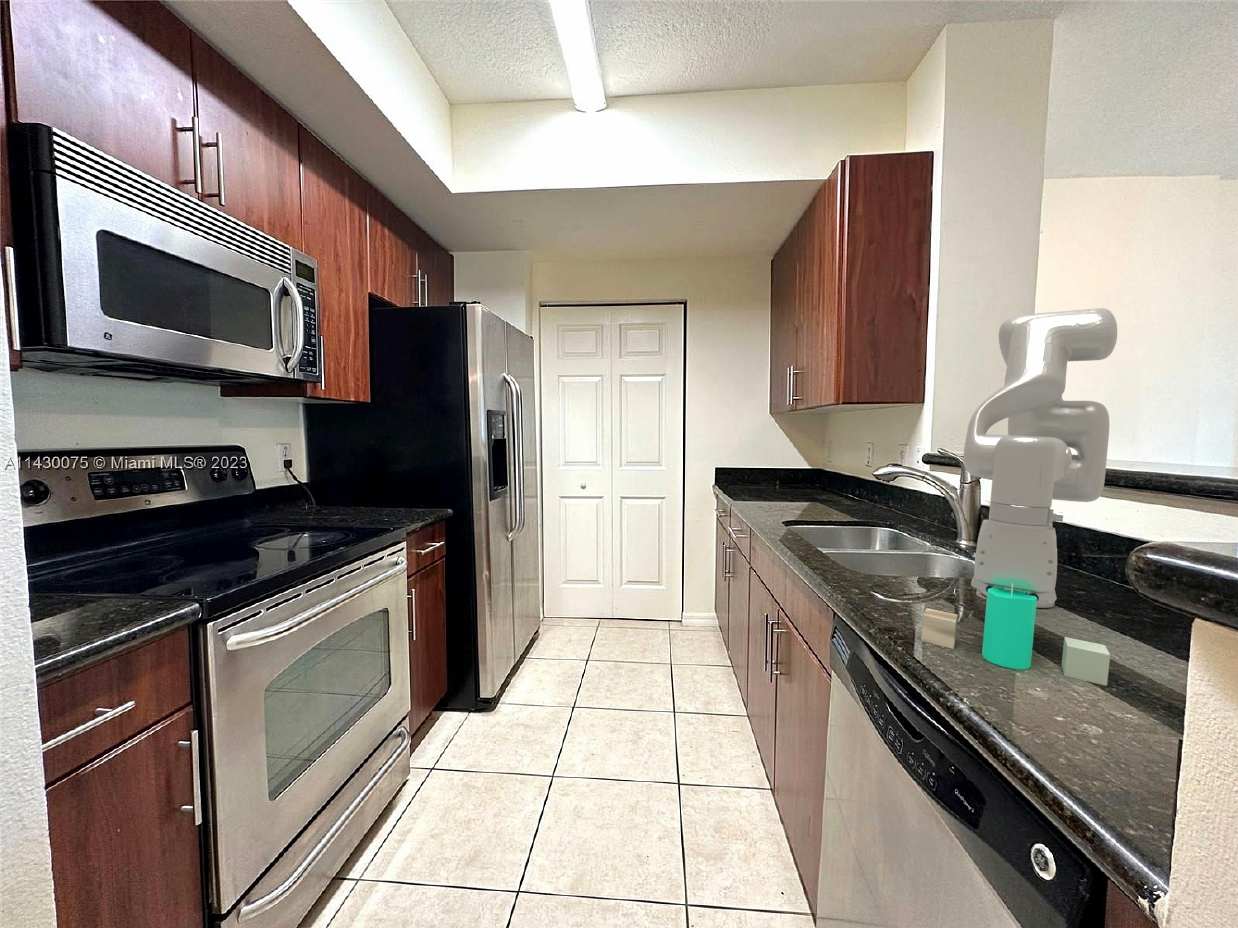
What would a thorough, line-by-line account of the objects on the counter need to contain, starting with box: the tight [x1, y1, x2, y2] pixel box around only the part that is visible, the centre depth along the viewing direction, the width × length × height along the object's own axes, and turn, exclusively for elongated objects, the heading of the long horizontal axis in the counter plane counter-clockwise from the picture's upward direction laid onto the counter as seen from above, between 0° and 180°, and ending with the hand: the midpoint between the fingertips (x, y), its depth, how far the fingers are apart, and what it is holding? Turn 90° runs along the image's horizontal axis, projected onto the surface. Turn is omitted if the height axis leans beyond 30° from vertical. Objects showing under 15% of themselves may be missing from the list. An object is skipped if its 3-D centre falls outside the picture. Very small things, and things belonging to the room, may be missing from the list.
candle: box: [981, 583, 1037, 671], centre depth 78 cm, size 6×6×12 cm
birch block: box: [920, 607, 959, 650], centre depth 85 cm, size 4×4×4 cm
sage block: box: [1061, 636, 1111, 687], centre depth 74 cm, size 4×4×4 cm
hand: (1008, 630), depth 81 cm, fingers closed
